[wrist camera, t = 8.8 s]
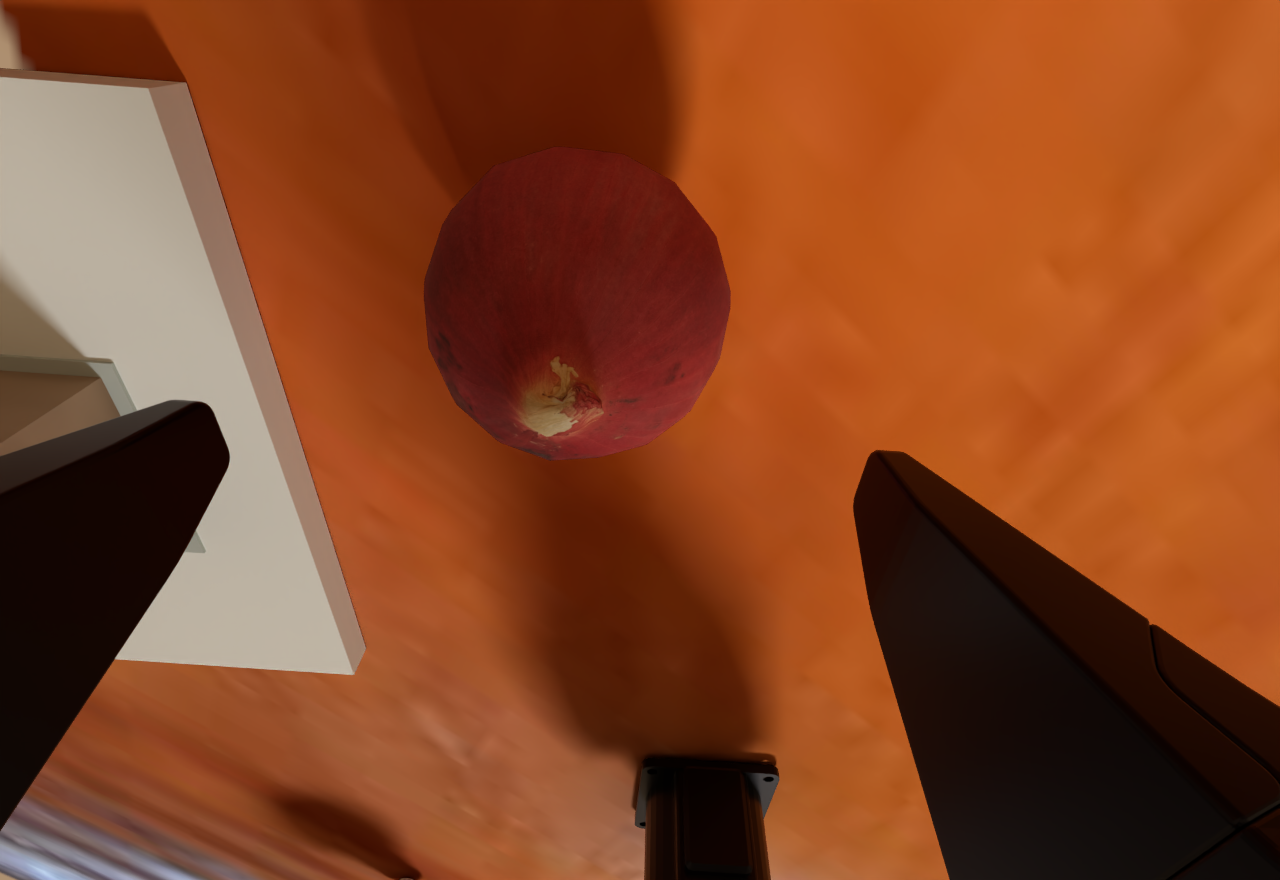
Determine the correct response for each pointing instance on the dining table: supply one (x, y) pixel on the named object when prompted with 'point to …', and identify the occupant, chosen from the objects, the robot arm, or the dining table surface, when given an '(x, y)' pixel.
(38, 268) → the build plate
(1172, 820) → the robot arm
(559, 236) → the onion
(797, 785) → the dining table surface
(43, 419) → the cup brick
